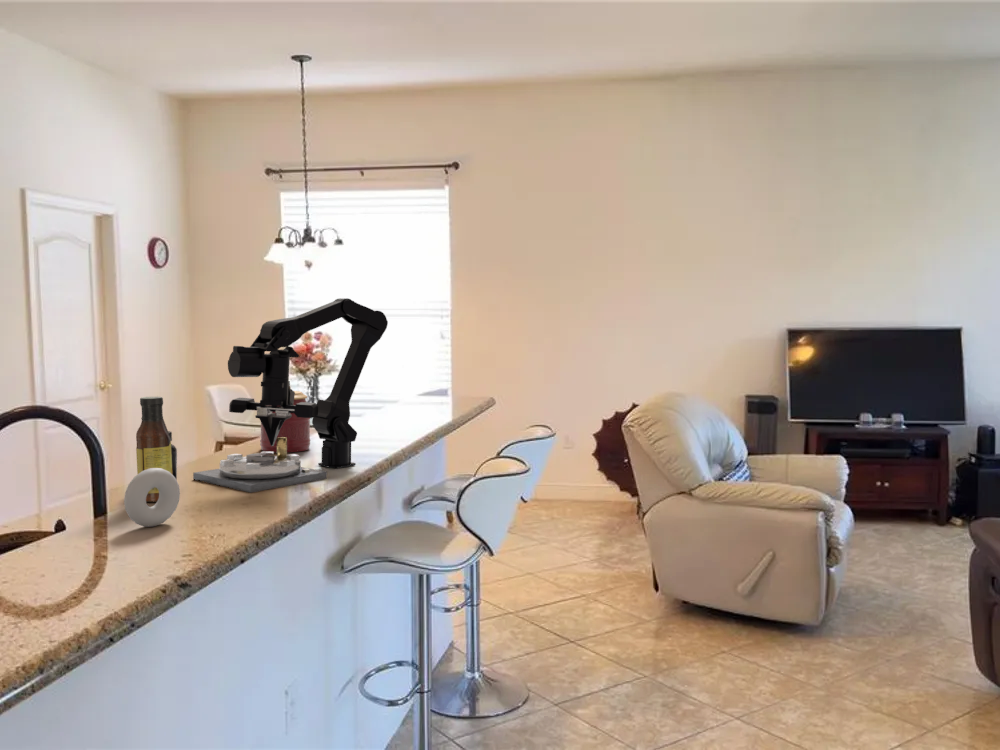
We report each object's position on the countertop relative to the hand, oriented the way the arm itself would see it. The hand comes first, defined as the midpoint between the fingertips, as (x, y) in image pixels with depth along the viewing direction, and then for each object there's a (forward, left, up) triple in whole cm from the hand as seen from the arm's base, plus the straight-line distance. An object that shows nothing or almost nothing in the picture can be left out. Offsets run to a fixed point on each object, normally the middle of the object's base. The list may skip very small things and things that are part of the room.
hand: (272, 445), depth 190 cm
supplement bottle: (+27, -2, -7) cm, 28 cm away
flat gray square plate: (+6, +3, -6) cm, 9 cm away
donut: (+43, +23, -7) cm, 49 cm away
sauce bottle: (+32, +5, -7) cm, 33 cm away
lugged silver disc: (+6, +3, -5) cm, 8 cm away
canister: (-23, -25, -7) cm, 34 cm away
